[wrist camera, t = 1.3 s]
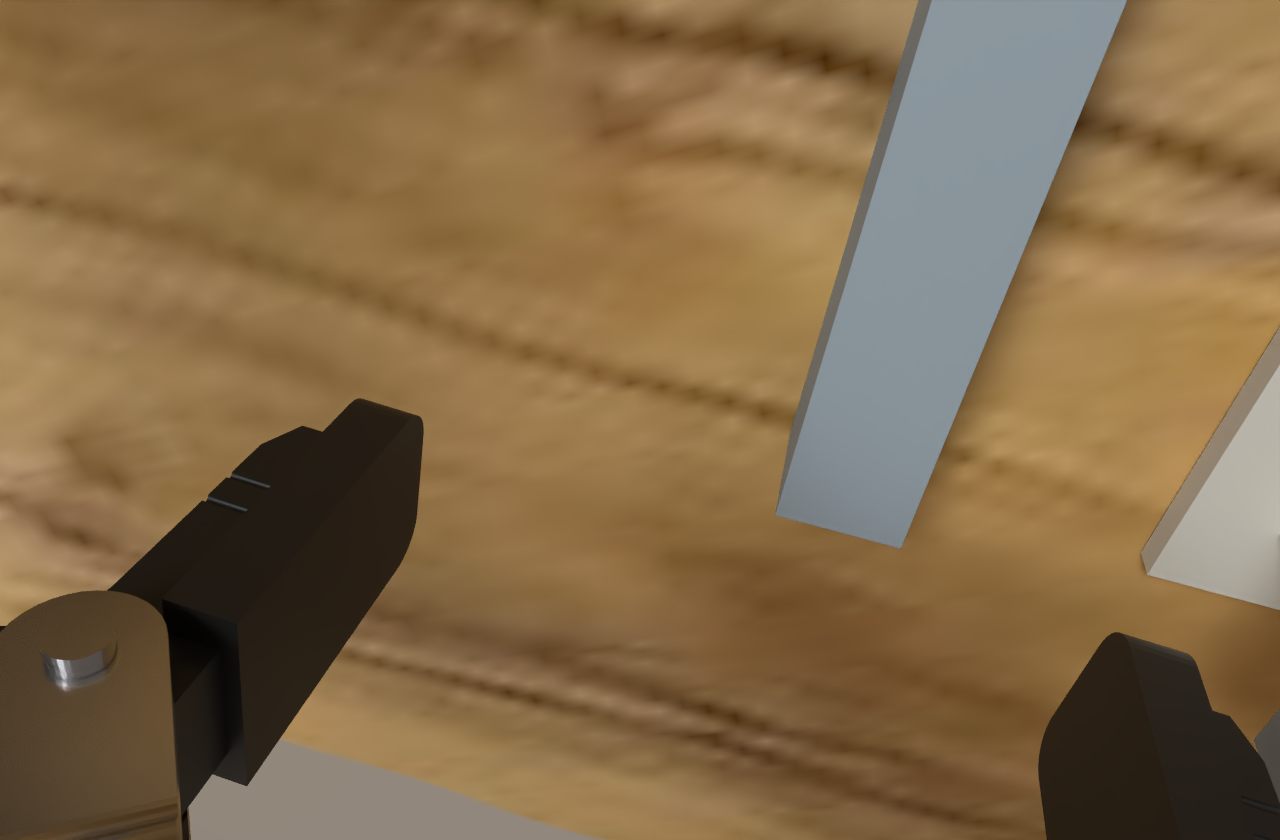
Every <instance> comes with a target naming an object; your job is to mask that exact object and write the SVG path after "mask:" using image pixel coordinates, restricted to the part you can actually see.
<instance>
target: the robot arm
mask: <svg viewBox="0 0 1280 840" xmlns="http://www.w3.org/2000/svg"><path fill="white" fill-rule="evenodd" d="M423 431H424V428H423V421H422V419H421V417H419V416H417V415H414V414H410V413H407V412H404V411H401V410H397V409H394V408H391V407H387V406H384V405H381V404H378V403H374V402H371V401H368V400H365V399H360V398H359V399H356V400H354V401H353V402H352V403H350V404H349V405H348V406H347V407H346V408H345V409H344V411H343V412H342V413H341V414H340V415H339V416H338V417H337V418H336V419H335V420H334V421H333V422H332V423H331V424H330V425H329V426H328V427H327V428H326V429H325V430H324V431H323V432H321V431H318V430H315V429H311V428H308V427H305V426H301V427H299V428H296V429H294V430H292V431H290V432H288V433H285V434H283V435H281V436H279V437H276V438H274V439H272V440H270V441H268V442H265V443H263V444H261V445H260V446H259V447H258V448H257V449H256V450H255V451H254V452H253V453H252V454H250V455H249V456H248V457H247V458H246V459H245V460H244V461H243V462H242V463H241V464H240V465H239V466H238V467H237V468H236V469H235V470H234V471H233V472H232V475H231V477H230V478H227V477H226V478H225V479H224V480H223V481H222V482H221V483H220V484H219V485H218V486H217V487H216V488H215V489H214V490H213V491H212V492H211V493H210V494H209V495H208V499H207V500H206V502H205V501H201V502H200V503H199V504H198V505H197V506H196V507H195V508H194V509H193V510H192V511H191V512H190V513H189V514H188V515H187V516H185V517H184V518H183V519H182V520H181V521H180V522H179V523H178V524H177V525H176V526H175V527H174V528H173V529H172V530H171V531H170V532H169V533H168V534H167V535H166V536H165V537H163V538H162V539H161V540H160V541H159V542H158V543H157V544H156V545H155V546H154V547H153V548H152V549H151V550H150V551H149V552H148V553H147V554H146V555H145V556H144V557H142V558H141V559H140V560H139V561H138V562H137V563H136V564H135V565H134V566H133V567H132V568H131V569H130V570H129V571H128V572H127V573H126V574H125V575H124V576H123V577H122V578H120V579H119V580H118V581H117V582H116V583H115V584H114V585H113V586H112V587H111V588H110V589H108V590H107V591H97V590H96V591H84V592H77V593H72V594H67V595H63V596H60V597H57V598H53V599H50V600H48V601H46V602H43V603H41V604H38V605H36V606H34V607H33V608H31V609H29V610H27V611H25V612H24V613H22V614H21V615H19V616H18V617H17V618H15V619H14V620H12V621H11V622H10V623H9V624H8V625H7V626H0V840H191V834H190V820H189V809H188V807H189V805H190V804H191V802H192V801H193V800H194V798H195V797H196V796H197V794H198V793H199V792H200V790H201V789H202V788H203V786H204V785H205V783H206V782H207V781H208V779H209V778H210V776H211V775H212V774H214V775H216V776H219V777H222V778H225V779H228V780H231V781H233V782H236V783H239V784H242V785H245V786H247V785H248V784H249V782H250V781H251V780H252V778H253V777H254V775H255V774H256V772H257V771H258V769H259V768H260V767H261V765H262V764H263V762H264V761H265V759H266V758H267V756H268V755H269V753H270V752H271V751H272V749H273V748H274V746H275V745H276V743H277V742H278V740H279V739H280V738H281V736H282V735H283V733H284V732H285V730H286V729H287V727H288V726H289V725H290V723H291V722H292V720H293V719H294V717H295V716H296V714H297V713H298V712H299V710H300V709H301V707H302V706H303V704H304V703H305V701H306V700H307V699H308V697H309V696H310V694H311V693H312V691H313V690H314V688H315V687H316V686H317V684H318V683H319V681H320V680H321V678H322V677H323V675H324V674H325V673H326V671H327V670H328V668H329V667H330V665H331V664H332V662H333V661H334V659H335V658H336V657H337V655H338V654H339V652H340V651H341V649H342V648H343V646H344V645H345V644H346V642H347V641H348V639H349V638H350V636H351V635H352V633H353V632H354V631H355V629H356V628H357V626H358V625H359V623H360V622H361V620H362V619H363V618H364V616H365V615H366V613H367V612H368V610H369V609H370V607H371V606H372V605H373V603H374V602H375V600H376V599H377V597H378V596H379V594H380V593H381V592H382V590H383V589H384V587H385V586H386V584H387V583H388V581H389V580H390V579H391V577H392V576H393V574H394V573H395V571H396V570H397V568H398V567H399V565H400V564H401V562H402V560H403V558H404V556H405V554H406V552H407V549H408V547H409V544H410V541H411V539H412V535H413V532H414V528H415V524H416V518H417V507H418V495H419V483H420V470H421V458H422V446H423ZM1038 773H1039V783H1040V790H1041V798H1042V806H1043V813H1044V821H1045V829H1046V836H1047V840H1280V802H1279V800H1278V797H1277V794H1276V792H1275V789H1274V786H1273V783H1272V781H1271V778H1270V775H1269V773H1268V770H1267V767H1266V765H1265V762H1264V761H1263V759H1262V758H1261V757H1260V756H1259V754H1258V753H1257V752H1256V750H1255V749H1254V748H1253V746H1252V745H1251V744H1250V742H1249V741H1248V740H1247V738H1246V737H1245V736H1244V734H1243V733H1242V732H1241V730H1240V729H1239V728H1238V726H1237V725H1236V724H1235V723H1234V721H1233V720H1232V719H1231V717H1230V716H1227V715H1224V714H1221V713H1218V712H1214V711H1212V709H1211V706H1210V703H1209V700H1208V697H1207V694H1206V691H1205V688H1204V685H1203V682H1202V679H1201V676H1200V673H1199V670H1198V667H1197V665H1196V662H1195V661H1194V659H1193V658H1192V657H1191V656H1190V655H1189V654H1187V653H1184V652H1181V651H1178V650H1174V649H1171V648H1168V647H1165V646H1161V645H1158V644H1155V643H1152V642H1148V641H1145V640H1142V639H1138V638H1135V637H1132V636H1129V635H1125V634H1122V633H1119V632H1115V633H1112V634H1110V635H1109V636H1107V637H1106V638H1105V639H1104V640H1103V642H1102V643H1101V644H1100V646H1099V647H1098V649H1097V650H1096V652H1095V653H1094V655H1093V656H1092V658H1091V659H1090V661H1089V662H1088V664H1087V665H1086V667H1085V668H1084V670H1083V671H1082V673H1081V674H1080V676H1079V677H1078V679H1077V680H1076V682H1075V683H1074V685H1073V686H1072V688H1071V689H1070V691H1069V692H1068V694H1067V695H1066V697H1065V698H1064V700H1063V701H1062V703H1061V705H1060V706H1059V708H1058V709H1057V711H1056V712H1055V714H1054V715H1053V717H1052V718H1051V720H1050V722H1049V724H1048V726H1047V728H1046V731H1045V733H1044V737H1043V740H1042V744H1041V748H1040V754H1039V764H1038Z"/></svg>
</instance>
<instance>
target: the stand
mask: <svg viewBox="0 0 1280 840" xmlns="http://www.w3.org/2000/svg"><path fill="white" fill-rule="evenodd" d="M1141 556H1142V559H1143V562H1144V566H1145V569H1146V572H1147V575H1150V576H1154V577H1158V578H1161V579H1165V580H1169V581H1172V582H1176V583H1180V584H1184V585H1187V586H1191V587H1195V588H1199V589H1202V590H1206V591H1210V592H1214V593H1217V594H1221V595H1225V596H1228V597H1232V598H1236V599H1240V600H1243V601H1247V602H1251V603H1255V604H1258V605H1262V606H1266V607H1269V608H1273V609H1277V610H1280V327H1279V329H1278V331H1277V332H1276V334H1275V335H1274V337H1273V339H1272V340H1271V342H1270V344H1269V345H1268V347H1267V348H1266V350H1265V352H1264V353H1263V355H1262V357H1261V358H1260V360H1259V361H1258V363H1257V365H1256V366H1255V368H1254V370H1253V371H1252V373H1251V375H1250V376H1249V378H1248V379H1247V381H1246V383H1245V384H1244V386H1243V388H1242V389H1241V391H1240V392H1239V394H1238V396H1237V397H1236V399H1235V401H1234V402H1233V404H1232V405H1231V407H1230V409H1229V410H1228V412H1227V414H1226V415H1225V417H1224V418H1223V420H1222V422H1221V423H1220V425H1219V427H1218V428H1217V430H1216V431H1215V433H1214V435H1213V436H1212V438H1211V440H1210V441H1209V443H1208V444H1207V446H1206V448H1205V449H1204V451H1203V453H1202V454H1201V456H1200V457H1199V459H1198V461H1197V462H1196V464H1195V466H1194V467H1193V469H1192V470H1191V472H1190V474H1189V475H1188V477H1187V479H1186V480H1185V482H1184V483H1183V485H1182V487H1181V488H1180V490H1179V492H1178V493H1177V495H1176V497H1175V498H1174V500H1173V501H1172V503H1171V505H1170V506H1169V508H1168V510H1167V511H1166V513H1165V514H1164V516H1163V518H1162V519H1161V521H1160V523H1159V524H1158V526H1157V527H1156V529H1155V531H1154V532H1153V534H1152V536H1151V537H1150V539H1149V540H1148V542H1147V544H1146V545H1145V547H1144V549H1143V550H1142V552H1141ZM1254 741H1255V744H1256V747H1257V750H1258V752H1259V755H1260V757H1261V758H1262V759H1263V761H1264V762H1265V765H1266V767H1267V770H1268V773H1269V775H1270V778H1271V781H1272V783H1273V786H1274V789H1275V792H1276V794H1277V797H1278V800H1279V802H1280V709H1279V710H1278V711H1277V712H1276V714H1275V715H1274V716H1273V717H1272V718H1271V720H1270V721H1269V722H1268V723H1267V725H1266V726H1265V727H1264V728H1263V729H1262V731H1261V732H1260V733H1259V734H1258V735H1257V737H1256V738H1255V739H1254Z"/></svg>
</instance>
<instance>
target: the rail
mask: <svg viewBox="0 0 1280 840" xmlns="http://www.w3.org/2000/svg"><path fill="white" fill-rule="evenodd" d="M1126 2H1127V0H919V1H918V4H917V8H916V11H915V14H914V18H913V21H912V25H911V28H910V31H909V35H908V38H907V41H906V45H905V48H904V51H903V55H902V58H901V62H900V65H899V68H898V72H897V75H896V78H895V82H894V85H893V88H892V92H891V95H890V99H889V102H888V105H887V109H886V112H885V115H884V119H883V122H882V126H881V129H880V132H879V136H878V139H877V142H876V146H875V149H874V152H873V156H872V159H871V163H870V166H869V169H868V173H867V176H866V179H865V183H864V186H863V189H862V193H861V196H860V200H859V203H858V206H857V210H856V213H855V216H854V220H853V223H852V227H851V230H850V233H849V237H848V240H847V243H846V247H845V250H844V253H843V257H842V260H841V264H840V267H839V270H838V274H837V277H836V280H835V284H834V287H833V290H832V294H831V297H830V301H829V304H828V307H827V311H826V314H825V317H824V321H823V324H822V328H821V331H820V334H819V338H818V341H817V344H816V348H815V351H814V354H813V358H812V361H811V365H810V368H809V371H808V375H807V378H806V381H805V385H804V388H803V391H802V395H801V398H800V402H799V405H798V408H797V412H796V415H795V418H794V422H793V425H792V428H791V432H790V437H789V443H788V448H787V454H786V459H785V465H784V470H783V475H782V481H781V486H780V492H779V497H778V503H777V508H776V514H775V515H777V516H780V517H784V518H788V519H792V520H795V521H799V522H803V523H807V524H810V525H814V526H818V527H822V528H825V529H829V530H833V531H837V532H840V533H844V534H848V535H852V536H855V537H859V538H863V539H866V540H870V541H874V542H878V543H881V544H885V545H889V546H893V547H896V548H900V549H901V547H902V544H903V542H904V539H905V537H906V535H907V532H908V530H909V527H910V525H911V523H912V520H913V518H914V515H915V513H916V510H917V508H918V506H919V503H920V501H921V498H922V496H923V493H924V491H925V489H926V486H927V484H928V481H929V479H930V477H931V474H932V472H933V469H934V467H935V464H936V462H937V460H938V457H939V455H940V452H941V450H942V447H943V445H944V443H945V440H946V438H947V435H948V433H949V430H950V428H951V426H952V423H953V421H954V418H955V416H956V414H957V411H958V409H959V406H960V404H961V401H962V399H963V397H964V394H965V392H966V389H967V387H968V384H969V382H970V380H971V377H972V375H973V372H974V370H975V367H976V365H977V363H978V360H979V358H980V355H981V353H982V351H983V348H984V346H985V343H986V341H987V338H988V336H989V334H990V331H991V329H992V326H993V324H994V321H995V319H996V317H997V314H998V312H999V309H1000V307H1001V305H1002V302H1003V300H1004V297H1005V295H1006V292H1007V290H1008V288H1009V285H1010V283H1011V280H1012V278H1013V275H1014V273H1015V271H1016V268H1017V266H1018V263H1019V261H1020V258H1021V256H1022V254H1023V251H1024V249H1025V246H1026V244H1027V242H1028V239H1029V237H1030V234H1031V232H1032V229H1033V227H1034V225H1035V222H1036V220H1037V217H1038V215H1039V212H1040V210H1041V208H1042V205H1043V203H1044V200H1045V198H1046V195H1047V193H1048V191H1049V188H1050V186H1051V183H1052V181H1053V179H1054V176H1055V174H1056V171H1057V169H1058V166H1059V164H1060V162H1061V159H1062V157H1063V154H1064V152H1065V149H1066V147H1067V145H1068V142H1069V140H1070V137H1071V135H1072V133H1073V130H1074V128H1075V125H1076V123H1077V120H1078V118H1079V116H1080V113H1081V111H1082V108H1083V106H1084V103H1085V101H1086V99H1087V96H1088V94H1089V91H1090V89H1091V86H1092V84H1093V82H1094V79H1095V77H1096V74H1097V72H1098V70H1099V67H1100V65H1101V62H1102V60H1103V57H1104V55H1105V53H1106V50H1107V48H1108V45H1109V43H1110V40H1111V38H1112V36H1113V33H1114V31H1115V28H1116V26H1117V23H1118V21H1119V19H1120V16H1121V14H1122V11H1123V9H1124V7H1125V4H1126Z"/></svg>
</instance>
